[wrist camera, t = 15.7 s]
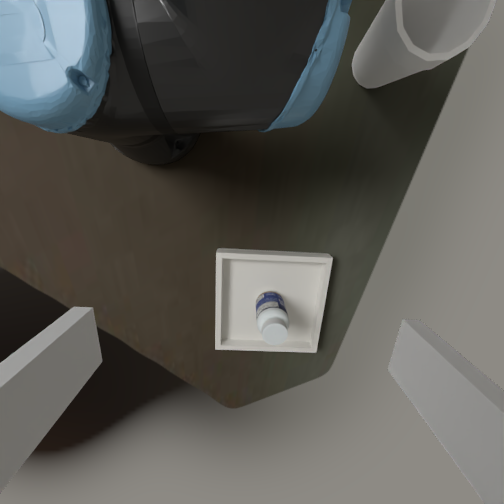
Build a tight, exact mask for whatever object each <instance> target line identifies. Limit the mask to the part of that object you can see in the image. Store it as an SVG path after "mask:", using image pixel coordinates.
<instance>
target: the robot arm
mask: <svg viewBox="0 0 504 504" xmlns="http://www.w3.org/2000/svg"><path fill="white" fill-rule="evenodd" d="M351 2H352V0H0V111H2V112H4V113H6V114H7V115H9V116H11V117H14V118H16V119H18V120H21V121H24V122H27V123H30V124H33V125H36V126H37V127H39V128H42V129H43V130H46V131H51V132H54V133H68V134H72V135H77V136H81V137H86V138H90V139H95V140H99V141H104V142H108V143H110V144H111V145H112V146H113V147H114V148H116V149H117V150H118V151H119V152H121V153H122V154H123V155H125V156H127V157H129V158H131V159H133V160H135V161H138V162H141V163H146V164H155V165H161V164H168V163H172V162H174V161H177V160H179V159H180V158H182V157H183V156H185V155H186V154H187V153H188V152H189V151H190V150H191V149H192V148H193V146H194V145H195V143H196V141H197V139H198V137H199V135H200V133H206V132H225V131H244V130H258V131H260V132H267V131H270V130H272V129H276V128H286V127H294V126H298V125H300V124H301V123H304V122H305V121H306V120H308V119H309V118H311V116H312V115H313V114H314V113H315V112H316V111H317V109H318V108H319V106H320V105H321V103H322V101H323V100H324V98H325V96H326V94H327V92H328V89H329V87H330V85H331V83H332V80H333V78H334V75H335V72H336V70H337V67H338V64H339V61H340V58H341V55H342V51H343V48H344V44H345V40H346V37H347V32H348V28H349V23H350V16H349V15H348V10H349V8H350V5H351ZM101 362H102V357H101V351H100V345H99V340H98V334H97V328H96V323H95V317H94V311H93V308H90V307H73V308H72V309H70V310H69V311H68V312H66V313H65V314H64V315H63V316H62V317H60V318H59V319H57V320H56V321H55V322H54V323H52V324H51V325H49V326H48V327H47V328H46V329H44V330H43V331H42V332H40V333H39V334H38V335H36V336H35V337H34V338H33V339H31V340H30V341H29V342H27V343H26V344H25V345H23V346H22V347H21V348H19V349H18V350H17V351H16V352H14V353H13V354H12V355H10V356H9V357H8V358H6V359H5V360H4V361H2V362H1V363H0V493H1V492H2V490H3V489H4V488H5V487H6V485H7V484H8V483H9V481H10V480H11V479H12V477H13V476H14V475H15V474H16V472H17V471H18V470H19V468H20V467H21V466H22V465H23V463H24V462H25V461H26V459H27V458H28V457H29V455H30V454H31V453H32V452H33V450H34V449H35V448H36V446H37V445H38V444H39V442H40V441H41V440H42V439H43V437H44V436H45V435H46V434H47V432H48V431H49V430H50V428H51V427H52V426H53V424H54V423H55V422H56V420H57V419H58V418H59V417H60V415H61V414H62V413H63V412H64V410H65V409H66V408H67V406H68V405H69V404H70V402H71V401H72V400H73V398H74V397H75V396H76V395H77V393H78V392H79V391H80V390H81V388H82V387H83V386H84V384H85V383H86V382H87V380H88V379H89V378H90V377H91V375H92V374H93V373H94V371H95V370H96V369H97V368H98V366H99V365H100V364H101ZM388 371H389V372H390V374H391V375H392V376H393V378H394V379H395V380H396V382H397V383H398V385H399V386H400V387H401V389H402V390H403V392H404V393H405V394H406V396H407V397H408V399H409V400H410V401H411V402H412V404H413V405H414V407H415V408H416V410H417V411H418V412H419V414H420V415H421V417H422V418H423V419H424V421H425V422H426V424H427V425H428V426H429V428H430V429H431V430H432V432H433V433H434V435H435V436H436V437H437V439H438V440H439V441H440V443H441V444H442V446H443V447H444V448H445V450H446V451H447V453H448V454H449V455H450V457H451V458H452V460H453V461H454V462H455V464H456V465H457V467H458V468H459V469H460V471H461V472H462V473H463V475H464V476H465V478H466V479H467V480H468V482H469V483H470V484H471V486H472V487H473V489H474V490H475V491H476V493H477V494H478V496H479V497H480V498H481V500H482V501H483V503H484V504H504V390H503V389H501V388H500V387H499V386H498V385H497V384H495V383H494V382H493V381H492V380H491V379H490V378H488V377H487V376H486V375H485V374H484V373H482V372H481V371H480V370H479V369H478V368H476V367H475V366H474V365H473V364H472V363H470V362H469V361H468V360H467V359H466V358H465V357H463V356H462V355H461V354H460V353H459V352H457V351H456V350H455V349H454V348H453V347H452V346H450V345H449V344H448V343H447V342H445V341H444V340H443V339H442V338H441V337H440V336H438V335H437V334H436V333H435V332H434V331H432V330H431V329H430V328H429V327H428V326H427V325H425V324H424V323H423V322H422V321H420V320H410V319H403V320H402V323H401V326H400V330H399V333H398V337H397V340H396V343H395V346H394V350H393V353H392V356H391V360H390V363H389V366H388Z"/></svg>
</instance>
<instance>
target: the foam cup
mask: <svg viewBox="0 0 504 504" xmlns="http://www.w3.org/2000/svg"><path fill="white" fill-rule="evenodd" d="M496 2H497V0H385V2H384V4H383V6H382V7H381V9H380V11H379V12H378V14H377V16H376V17H375V19H374V21H373V22H372V24H371V26H370V28H369V29H368V31H367V33H366V34H365V36H364V38H363V39H362V41H361V43H360V44H359V46H358V48H357V50H356V52H355V53H354V57H353V62H352V70H353V76H354V78H355V79H356V81H357V82H358V84H359V85H361V86H363V87H365V88H367V89H368V88H377V87H381V86H383V85H386V84H388V83H391V82H394V81H396V80H399V79H402V78H404V77H407V76H410V75H412V74H415V73H417V72H420V71H423V70H431V69H433V68H434V67H436V66H438V65H440V64H441V63H443V62H445V61H447V60H448V59H450V58H452V57H454V56H455V55H457V54H459V53H460V52H462V51H464V50H465V49H467V48H469V47H470V46H471V45H472V44H473V42H474V41H475V40H476V39H477V37H478V36H479V35H480V34H481V32H482V31H483V30H484V29H485V27H486V26H487V25H488V23H489V20H490V18H491V15H492V12H493V10H494V7H495V4H496Z"/></svg>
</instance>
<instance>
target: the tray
mask: <svg viewBox="0 0 504 504" xmlns="http://www.w3.org/2000/svg"><path fill="white" fill-rule="evenodd" d="M332 261H333V258H332V257H331V256H330V255H329V254H328V253H311V252H290V251H269V250H248V249H227V248H218V249H217V252H216V329H215V349H216V350H248V351H280V352H312V353H316V352H317V346H318V341H319V335H320V329H321V324H322V318H323V312H324V306H325V301H326V295H327V289H328V284H329V278H330V272H331V266H332ZM267 290H273V291H276V292H278V293H279V294H280V295H281V296H282V298H283V301H284V304H285V307H286V310H287V314H288V317H289V328H288V336H287V339H286V340H285V341H284V342H283V343H281V344H279V345H270V344H268V343H266V342H265V341H264V340H263V337H262V334H261V333H260V331H259V330H258V327H257V319H256V305H255V304H256V299H257V297H258V295H259V294H260V293H262V292H264V291H267Z"/></svg>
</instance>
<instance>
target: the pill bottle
mask: <svg viewBox="0 0 504 504" xmlns="http://www.w3.org/2000/svg"><path fill="white" fill-rule="evenodd" d="M255 305H256V319H257V327H258V330H259V331H260V333H261V334H262V337H263V340H264V341H265V342H266V343H268V344H270V345H279V344H281V343H283V342H284V341H285V340H286V339H287V336H288V328H289V317H288V314H287V310H286V307H285V304H284V301H283V298H282V296H281V295H280V294H279V293H278V292H276V291H273V290H267V291H264V292H262V293H260V294H259V295H258V297H257V299H256V304H255Z"/></svg>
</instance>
